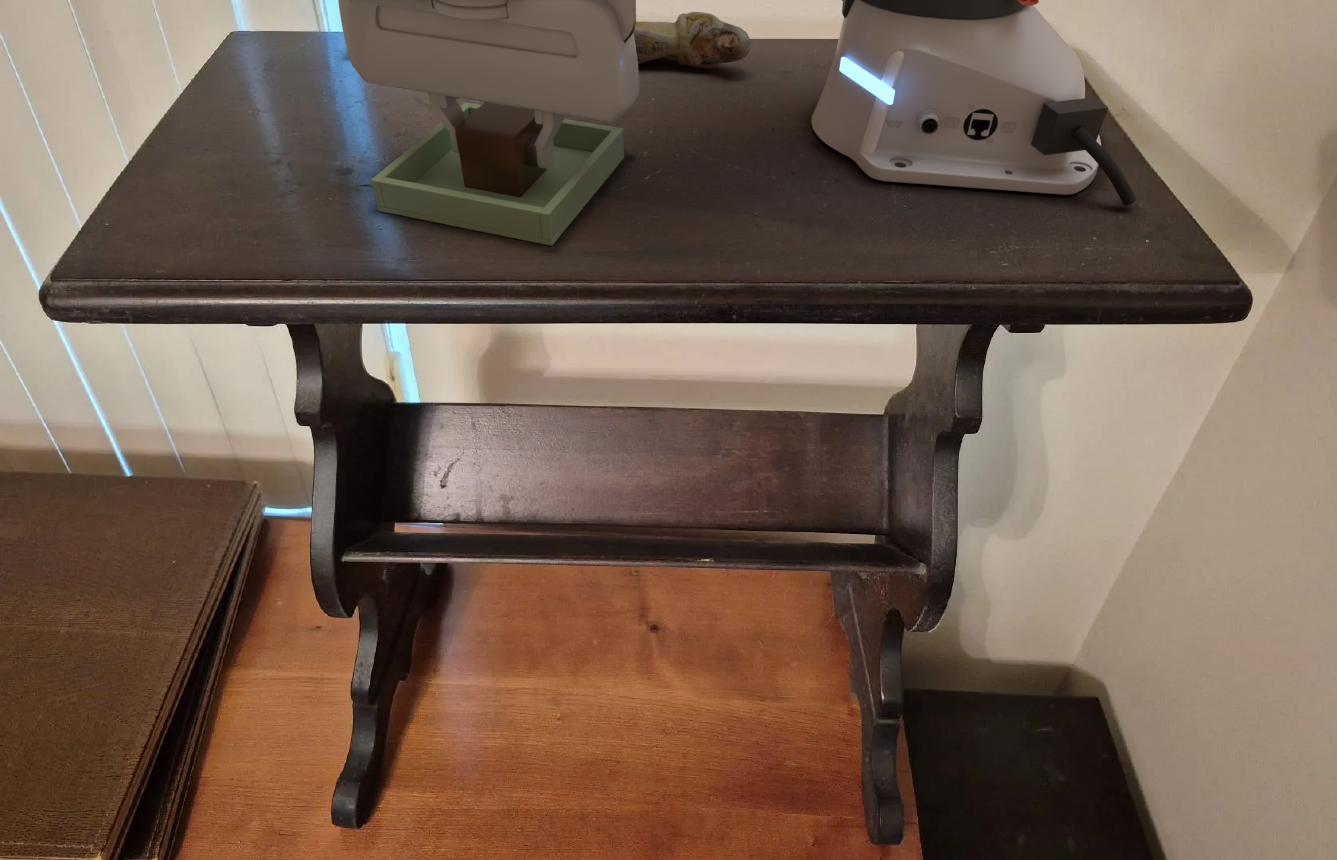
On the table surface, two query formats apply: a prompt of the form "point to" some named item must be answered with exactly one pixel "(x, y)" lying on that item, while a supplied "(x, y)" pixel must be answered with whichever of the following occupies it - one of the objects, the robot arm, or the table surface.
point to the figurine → (691, 40)
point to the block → (497, 149)
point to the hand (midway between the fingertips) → (503, 157)
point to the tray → (437, 193)
